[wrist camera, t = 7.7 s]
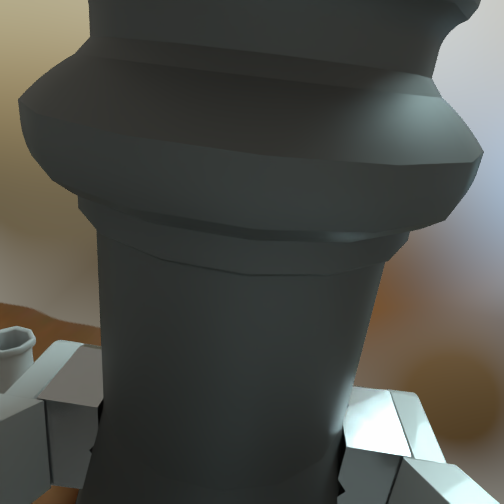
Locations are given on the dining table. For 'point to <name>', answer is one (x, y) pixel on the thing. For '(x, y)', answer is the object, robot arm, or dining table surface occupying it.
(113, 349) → the candle holder
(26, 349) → the flask
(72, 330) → the dining table surface
